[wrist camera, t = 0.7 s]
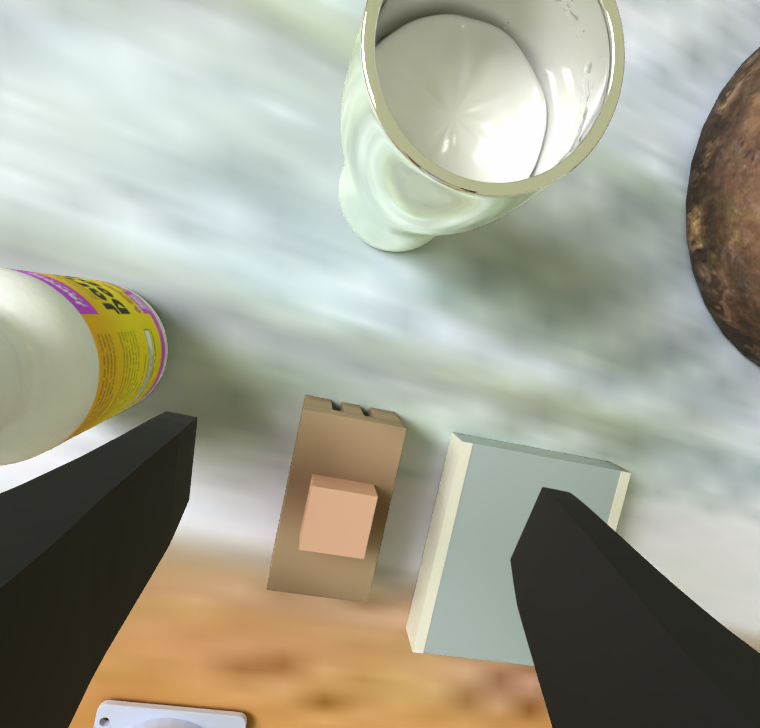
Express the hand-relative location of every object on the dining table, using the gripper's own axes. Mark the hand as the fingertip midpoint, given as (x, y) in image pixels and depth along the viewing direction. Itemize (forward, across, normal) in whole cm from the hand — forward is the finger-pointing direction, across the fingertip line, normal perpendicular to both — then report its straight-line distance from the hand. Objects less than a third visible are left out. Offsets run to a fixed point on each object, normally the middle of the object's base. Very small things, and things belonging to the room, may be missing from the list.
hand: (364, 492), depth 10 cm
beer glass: (+20, 0, -4) cm, 20 cm away
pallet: (+15, 0, +11) cm, 18 cm away
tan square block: (+11, 0, +10) cm, 15 cm away
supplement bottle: (+16, +13, +6) cm, 21 cm away
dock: (+15, -11, +13) cm, 22 cm away
